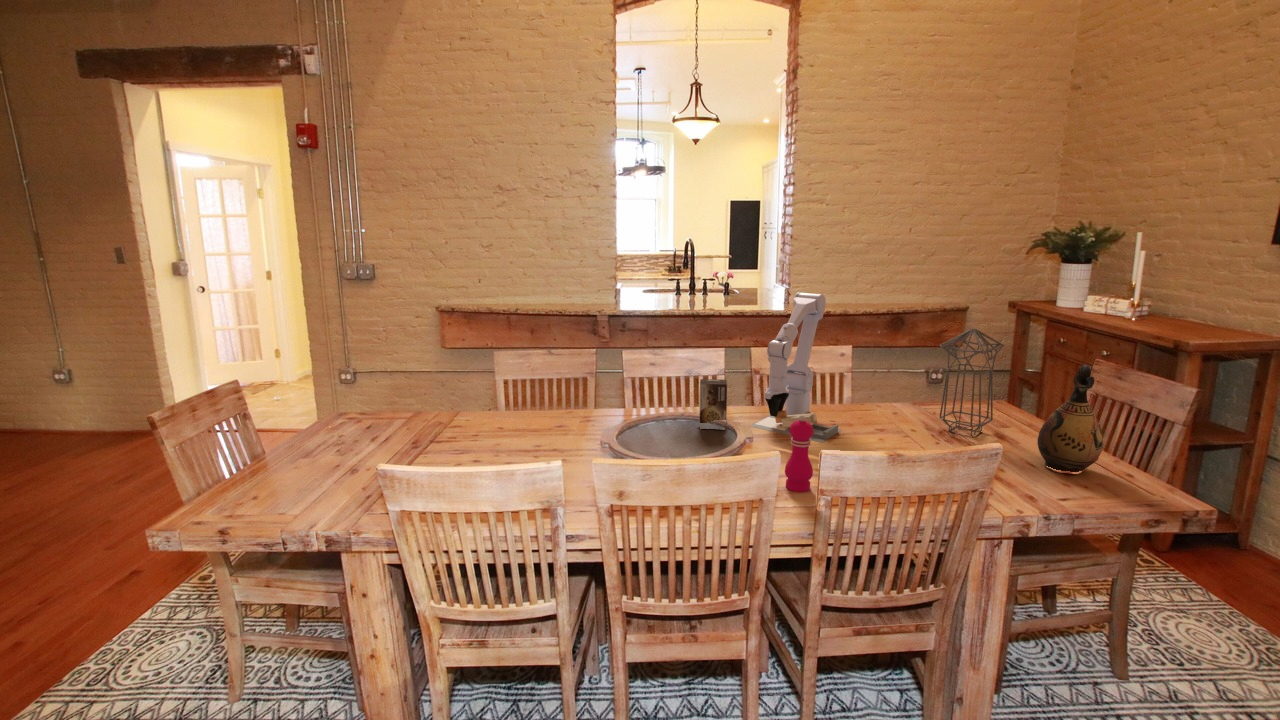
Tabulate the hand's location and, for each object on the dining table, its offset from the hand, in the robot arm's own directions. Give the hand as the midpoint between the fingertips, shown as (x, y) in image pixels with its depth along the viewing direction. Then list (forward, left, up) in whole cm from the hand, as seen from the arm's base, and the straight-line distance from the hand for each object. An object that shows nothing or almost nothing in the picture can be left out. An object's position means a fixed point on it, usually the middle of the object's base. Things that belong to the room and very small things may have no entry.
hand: (775, 414), depth 222 cm
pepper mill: (+43, +28, -4) cm, 52 cm away
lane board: (0, +7, -4) cm, 8 cm away
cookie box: (+15, -16, -4) cm, 22 cm away
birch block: (0, +8, -2) cm, 8 cm away
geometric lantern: (-34, +51, -4) cm, 62 cm away
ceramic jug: (-18, +82, -4) cm, 84 cm away
